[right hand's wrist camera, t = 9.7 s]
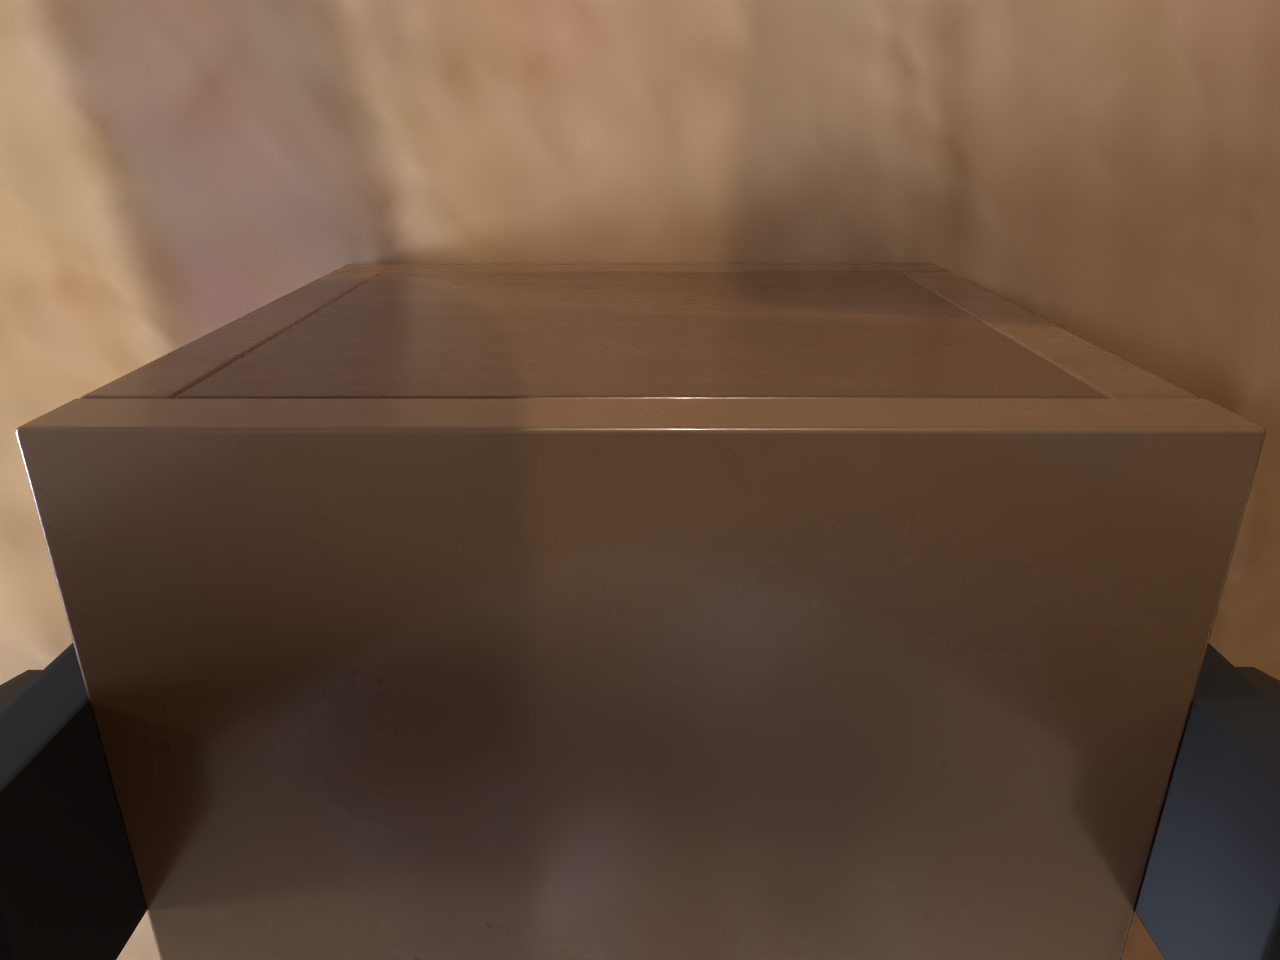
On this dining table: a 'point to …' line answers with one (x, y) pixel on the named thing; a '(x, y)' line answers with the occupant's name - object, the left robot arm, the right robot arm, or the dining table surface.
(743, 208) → the dining table surface
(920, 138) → the dining table surface
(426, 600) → the cabinet
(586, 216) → the dining table surface
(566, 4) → the dining table surface
